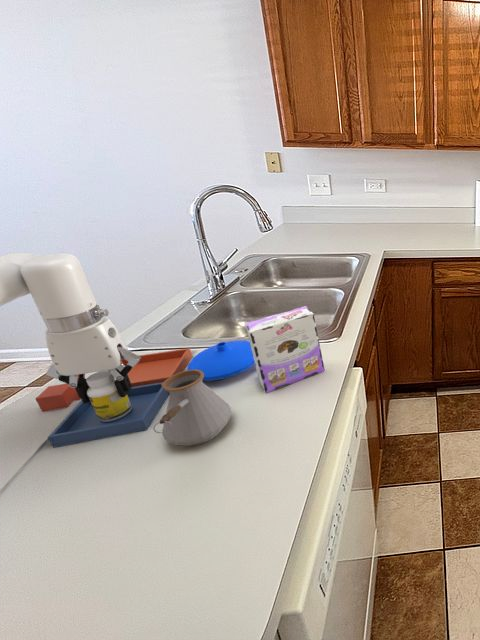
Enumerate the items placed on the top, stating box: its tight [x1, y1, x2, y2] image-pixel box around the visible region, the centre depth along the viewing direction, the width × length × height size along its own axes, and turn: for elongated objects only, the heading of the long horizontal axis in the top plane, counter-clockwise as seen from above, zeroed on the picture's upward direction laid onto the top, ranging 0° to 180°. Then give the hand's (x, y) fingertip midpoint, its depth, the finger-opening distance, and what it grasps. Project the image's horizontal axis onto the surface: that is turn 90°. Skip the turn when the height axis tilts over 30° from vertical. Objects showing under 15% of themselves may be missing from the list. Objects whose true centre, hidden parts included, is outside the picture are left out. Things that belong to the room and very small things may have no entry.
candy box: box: [244, 305, 325, 394], centre depth 94 cm, size 14×6×16 cm, turn 130°
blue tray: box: [47, 382, 170, 449], centre depth 84 cm, size 15×13×3 cm
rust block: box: [35, 383, 81, 412], centre depth 86 cm, size 4×4×4 cm
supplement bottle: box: [85, 370, 132, 422], centre depth 82 cm, size 5×5×10 cm
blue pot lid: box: [187, 340, 255, 381], centre depth 99 cm, size 16×16×7 cm
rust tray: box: [120, 347, 193, 387], centre depth 97 cm, size 15×13×3 cm
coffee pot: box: [153, 369, 232, 447], centre depth 73 cm, size 21×12×15 cm, turn 25°
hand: (108, 395), depth 82 cm, fingers closed on supplement bottle, 5 cm apart
